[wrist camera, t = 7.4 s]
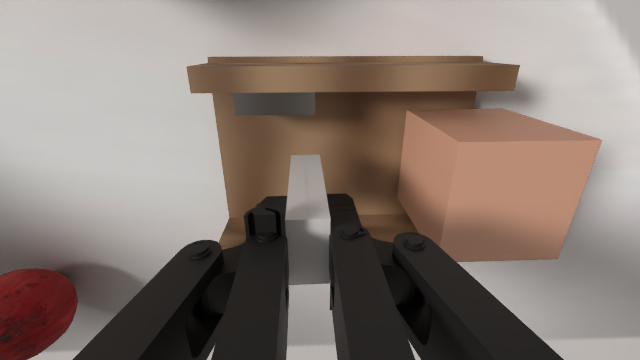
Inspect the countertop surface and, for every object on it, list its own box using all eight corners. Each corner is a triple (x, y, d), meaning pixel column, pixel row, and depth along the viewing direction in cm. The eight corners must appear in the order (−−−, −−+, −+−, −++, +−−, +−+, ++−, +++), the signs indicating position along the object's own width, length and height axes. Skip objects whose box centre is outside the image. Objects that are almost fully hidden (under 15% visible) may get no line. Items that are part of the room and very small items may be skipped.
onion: (68, 235, 23) (-44, 325, 15) (115, 290, 25) (37, 392, 18) (3, 259, 23) (-135, 357, 16) (55, 311, 26) (-46, 418, 18)
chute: (234, 228, 23) (219, 267, 19) (212, 57, 18) (185, 59, 14) (443, 223, 24) (472, 260, 20) (474, 55, 19) (521, 58, 15)
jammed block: (397, 197, 21) (436, 262, 15) (406, 109, 19) (459, 142, 12) (482, 195, 21) (557, 258, 15) (502, 108, 19) (602, 140, 13)
